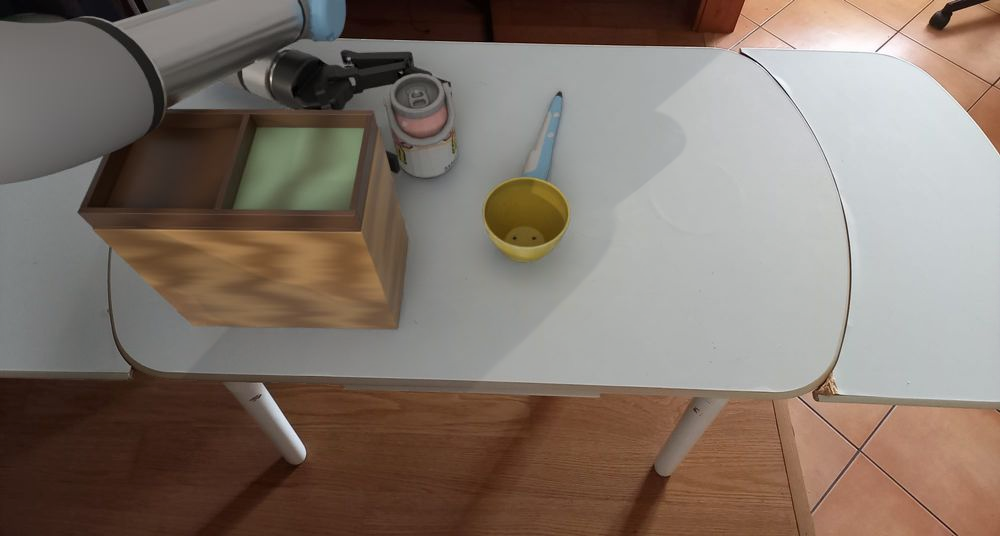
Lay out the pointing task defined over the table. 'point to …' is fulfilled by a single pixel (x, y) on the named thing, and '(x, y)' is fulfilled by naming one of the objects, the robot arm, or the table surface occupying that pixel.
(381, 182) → the stand
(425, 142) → the beverage can
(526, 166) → the pen
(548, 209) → the flower pot
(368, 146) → the tray
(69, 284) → the table surface
